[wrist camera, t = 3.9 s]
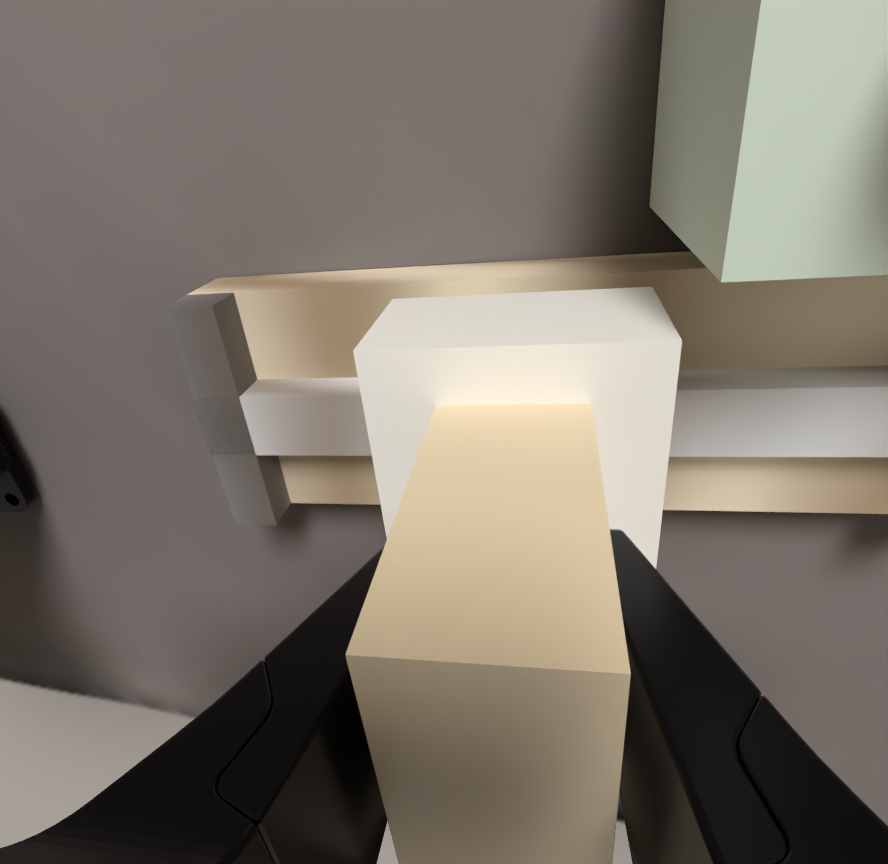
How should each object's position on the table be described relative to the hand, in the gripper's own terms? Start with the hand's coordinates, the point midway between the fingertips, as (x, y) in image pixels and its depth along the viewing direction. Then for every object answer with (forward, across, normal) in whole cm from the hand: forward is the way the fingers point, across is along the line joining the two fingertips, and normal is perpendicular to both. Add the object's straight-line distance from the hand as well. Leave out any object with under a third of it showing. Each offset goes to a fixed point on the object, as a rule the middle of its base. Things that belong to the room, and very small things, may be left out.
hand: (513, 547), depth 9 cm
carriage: (+4, 0, 0) cm, 4 cm away
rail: (+7, -1, 0) cm, 7 cm away
